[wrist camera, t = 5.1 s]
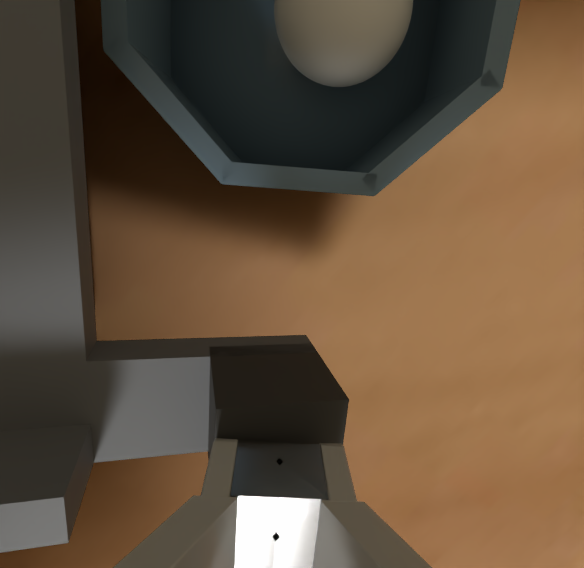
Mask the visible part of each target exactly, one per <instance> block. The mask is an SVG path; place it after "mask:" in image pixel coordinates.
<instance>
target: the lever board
mask: <svg viewBox="0 0 584 568" xmlns="http://www.w3.org/2000/svg"><path fill="white" fill-rule="evenodd" d="M348 402H349V399H348V397H347V396H346V394H345V393H344V391H343V390H342V388H341V387H340V385H339V384H338V382H337V381H336V379H335V378H334V376H333V375H332V373H331V372H330V370H329V369H328V367H327V366H326V364H325V363H324V361H323V360H322V358H321V357H320V355H319V354H318V352H317V351H316V349H315V348H314V346H313V345H312V343H311V342H310V340H309V339H308V337H307V336H306V335H290V336H255V337H220V338H185V339H151V340H116V341H97V338H96V322H95V307H94V292H93V276H92V261H91V246H90V230H89V215H88V200H87V184H86V169H85V154H84V138H83V123H82V108H81V92H80V77H79V62H78V46H77V31H76V16H75V0H0V553H1V552H8V551H15V550H22V549H29V548H36V547H43V546H50V545H57V544H64V543H69V539H70V536H71V533H72V530H73V527H74V524H75V520H76V517H77V514H78V511H79V508H80V505H81V501H82V498H83V495H84V492H85V489H86V486H87V482H88V479H89V476H90V473H91V470H92V467H93V463H95V462H105V461H115V460H125V459H135V458H145V457H156V456H166V455H176V454H186V453H196V452H206V451H208V458H210V454H211V449H212V445H213V442H214V440H215V438H222V439H237V440H239V439H243V440H257V441H272V442H284V443H309V444H320V443H339V444H342V445H343V439H344V432H345V425H346V417H347V410H348Z"/></svg>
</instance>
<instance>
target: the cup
mask: <svg viewBox="0 0 584 568" xmlns="http://www.w3.org/2000/svg"><path fill="white" fill-rule="evenodd" d="M274 2H275V0H101V16H102V36H103V50H104V52H105V53H106V54H107V55H108V56H109V57H110V59H111V60H112V61H113V62H114V63H115V64H116V65H117V66H118V68H119V69H120V70H121V71H122V72H123V73H124V74H125V75H126V77H127V78H128V79H129V80H130V81H131V82H132V83H133V85H134V86H135V87H136V88H137V89H138V90H139V91H140V92H141V94H142V95H143V96H144V97H145V98H146V99H147V100H148V101H149V103H150V104H151V105H152V106H153V107H154V108H155V109H156V111H157V112H158V113H159V114H160V115H161V116H162V117H163V118H164V120H165V121H166V122H167V123H168V124H169V125H170V126H171V128H172V129H173V130H174V131H175V132H176V133H177V134H178V135H179V137H180V138H181V139H182V140H183V141H184V142H185V143H186V144H187V146H188V147H189V148H190V149H191V150H192V151H193V152H194V154H195V155H196V156H197V157H198V158H199V159H200V160H201V161H202V163H203V164H204V165H205V166H206V167H207V168H208V169H209V170H210V172H211V173H212V174H213V175H214V176H215V177H216V178H217V180H218V181H219V182H220V183H221V184H226V185H238V186H251V187H264V188H277V189H290V190H302V191H315V192H328V193H341V194H353V195H366V196H375V195H376V194H378V193H379V192H380V191H381V190H382V189H383V188H385V187H386V186H387V185H388V184H389V183H391V182H392V181H393V180H394V179H395V178H397V177H398V176H399V175H400V174H401V173H402V172H404V171H405V170H406V169H407V168H408V167H410V166H411V165H412V164H413V163H414V162H416V161H417V160H418V159H419V158H420V157H421V156H423V155H424V154H425V153H426V152H427V151H429V150H430V149H431V148H432V147H433V146H435V145H436V144H437V143H438V142H439V141H441V140H442V139H443V138H444V137H445V136H446V135H448V134H449V133H450V132H451V131H452V130H454V129H455V128H456V127H457V126H458V125H460V124H461V123H462V122H463V121H464V120H465V119H467V118H468V117H469V116H470V115H471V114H473V113H474V112H475V111H476V110H477V109H479V108H480V107H481V106H482V105H483V104H485V103H486V102H487V101H488V100H489V99H490V98H492V97H493V96H494V95H495V94H496V93H498V92H499V91H500V90H501V89H502V87H503V82H504V78H505V73H506V68H507V63H508V58H509V53H510V49H511V44H512V39H513V34H514V29H515V24H516V20H517V15H518V10H519V5H520V0H413V8H412V15H411V20H410V23H409V27H408V30H407V33H406V35H405V38H404V40H403V42H402V44H401V46H400V48H399V49H398V51H397V53H396V54H395V55H394V57H393V58H392V59H391V61H390V62H389V63H388V64H387V65H386V66H385V67H384V68H383V69H382V70H381V71H380V72H379V73H377V74H376V75H374V76H373V77H371V78H369V79H368V80H366V81H364V82H361V83H359V84H356V85H352V86H347V87H331V86H326V85H322V84H319V83H317V82H314V81H312V80H310V79H309V78H307V77H306V76H304V75H303V74H302V73H300V72H299V71H298V70H297V69H296V68H295V67H294V65H293V64H292V63H291V62H290V60H289V59H288V57H287V56H286V54H285V52H284V50H283V48H282V46H281V43H280V41H279V38H278V35H277V31H276V25H275V18H274Z"/></svg>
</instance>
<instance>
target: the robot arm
mask: <svg viewBox="0 0 584 568" xmlns="http://www.w3.org/2000/svg"><path fill="white" fill-rule="evenodd" d="M113 568H432V567H431V566H430V565H429V564H428V563H427V562H426V561H425V560H424V559H423V558H422V557H421V556H420V555H418V554H417V553H416V552H415V551H414V550H413V549H412V548H411V547H410V546H409V545H408V544H407V543H406V542H405V541H404V540H403V539H402V538H401V537H400V536H399V535H398V534H397V533H396V532H395V531H394V530H393V529H392V528H391V527H390V526H389V525H388V524H386V523H385V522H384V521H383V520H382V519H381V518H380V517H379V516H378V515H377V514H376V513H375V512H374V511H373V510H372V509H371V508H370V507H369V506H368V505H367V504H366V503H365V502H357V499H356V495H355V490H354V486H353V482H352V478H351V474H350V470H349V466H348V461H347V457H346V453H345V449H344V446H343V445H342V444H339V443H320V444H309V443H284V442H272V441H257V440H243V439H239V440H237V439H222V438H215V440H214V442H213V445H212V449H211V454H210V458H209V462H208V466H207V471H206V475H205V479H204V483H203V488H202V492H201V496H192V497H191V498H190V499H189V500H188V501H187V502H186V503H185V504H183V505H182V506H181V507H180V508H179V509H178V510H177V511H176V512H175V513H173V514H172V515H171V516H170V517H169V518H168V519H167V520H166V521H165V522H163V523H162V524H161V525H160V526H159V527H158V528H157V529H156V530H155V531H153V532H152V533H151V534H150V535H149V536H148V537H147V538H146V539H144V540H143V541H142V542H141V543H140V544H139V545H138V546H137V547H136V548H134V549H133V550H132V551H131V552H130V553H129V554H128V555H127V556H126V557H124V558H123V559H122V560H121V561H120V562H119V563H118V564H117V565H116V566H114V567H113Z"/></svg>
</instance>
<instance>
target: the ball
mask: <svg viewBox="0 0 584 568" xmlns="http://www.w3.org/2000/svg"><path fill="white" fill-rule="evenodd" d="M412 8H413V0H275V2H274V18H275V25H276V31H277V35H278V38H279V41H280V43H281V46H282V48H283V50H284V52H285V54H286V56H287V57H288V59H289V60H290V62H291V63H292V64H293V65H294V67H295V68H296V69H297V70H298V71H299V72H300V73H302V74H303V75H304V76H306V77H307V78H309V79H310V80H312V81H314V82H317V83H319V84H322V85H326V86H331V87H347V86H352V85H356V84H359V83H361V82H364V81H366V80H368V79H369V78H371V77H373V76H374V75H376V74H377V73H379V72H380V71H381V70H382V69H383V68H384V67H385V66H386V65H387V64H388V63H389V62H390V61H391V59H392V58H393V57H394V55H395V54H396V53H397V51H398V49H399V48H400V46H401V44H402V42H403V40H404V38H405V35H406V33H407V30H408V27H409V23H410V20H411V15H412Z"/></svg>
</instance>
